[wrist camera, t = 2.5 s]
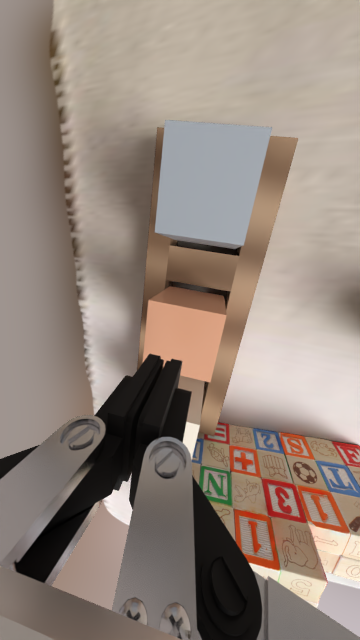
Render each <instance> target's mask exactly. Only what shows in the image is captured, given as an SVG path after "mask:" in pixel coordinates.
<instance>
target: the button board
mask: <svg viewBox="0 0 360 640" xmlns="http://www.w3.org/2000/svg"><path fill="white" fill-rule="evenodd" d="M163 138H164V128H159V127H157V139H156V151H155V163H154V175H153V187H152V199H151V211H150V223H149V235H148V247H147V259H146V271H145V283H144V295H143V307H142V319H141V331H140V343H139V355H138V367H137V370H138V369H139V368H140V366H141V365H142V363H143V353H144V342H145V332H146V321H147V310H148V300H149V299H151V298H152V297H154V296H156V295H157V294H159V293H160V292H162V291H163V290H165V289H166V288H168V287H170V286H172V281H175V282H180V283H186V284H192V285H197V286H203V287H208V288H214V289H220V290H225V291H228V293H227V297H226V301H225V307H226V314H227V316H226V320H225V324H224V329H223V333H222V337H221V341H220V345H219V349H218V353H217V357H216V362H215V366H214V370H213V374H212V378H211V382H206V387H205V391H204V395H203V402H202V411H201V421H200V427H199V433H203V434H206V435H210V436H213V437H214V434H215V431H216V427H217V424H218V420H219V417H220V413H221V410H222V406H223V403H224V399H225V396H226V392H227V389H228V385H229V382H230V378H231V374H232V371H233V367H234V364H235V360H236V357H237V353H238V350H239V346H240V343H241V339H242V336H243V332H244V329H245V325H246V322H247V318H248V314H249V311H250V307H251V304H252V300H253V297H254V293H255V290H256V286H257V283H258V279H259V276H260V272H261V269H262V265H263V262H264V258H265V254H266V251H267V247H268V244H269V240H270V237H271V233H272V230H273V226H274V223H275V219H276V216H277V212H278V209H279V205H280V202H281V198H282V194H283V191H284V187H285V184H286V180H287V177H288V173H289V170H290V166H291V163H292V159H293V156H294V152H295V149H296V145H297V142H298V138H291V137H278V136H270V139H269V143H268V147H267V151H266V156H265V160H264V164H263V168H262V172H261V176H260V180H259V184H258V189H257V193H256V197H255V201H254V205H253V209H252V213H251V217H250V222H249V226H248V230H247V234H246V238H245V242H244V246H241V247H238V250H237V254H236V256H235V255H228V254H222V253H215V252H209V251H202V250H196V249H190V248H183V247H177V240H174V239H172V238H169V237H166V236H163V235H161V234H158V233H155V224H156V213H157V203H158V192H159V181H160V170H161V160H162V149H163Z"/></svg>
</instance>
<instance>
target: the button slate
mask: <svg viewBox="0 0 360 640" xmlns="http://www.w3.org/2000/svg"><path fill="white" fill-rule="evenodd" d="M271 131H272V127H259V126H245V125H230V124H216V123H202V122H188V121H174V120H165V127H164V138H163V149H162V160H161V170H160V181H159V192H158V203H157V213H156V224H155V233H158V234H161V235H163V236H166V237H169V238H172V239H174V240H179V241H185V242H192V243H198V244H205V245H212V246H218V247H225V248H232V249H236V248H238V247H241V246H244V242H245V238H246V234H247V230H248V226H249V222H250V217H251V213H252V209H253V205H254V201H255V197H256V193H257V189H258V184H259V180H260V176H261V172H262V168H263V164H264V160H265V156H266V151H267V147H268V143H269V139H270V135H271Z"/></svg>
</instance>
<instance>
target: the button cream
mask: <svg viewBox="0 0 360 640" xmlns="http://www.w3.org/2000/svg"><path fill="white" fill-rule="evenodd" d="M204 383H205V381H201V380H197V379H193V378H189V377H185V376H181V375H180V379H179V384H178V388H180V389H184V390H188V391H192V394H191V399H190V405H189V411H188V416H187V422H186V427H185V433H184V438H183V444H184V445H185V446H186V447H187V448H188V450H189V452H190V454H191V460H192V456H193V452H194V448H195V444H196V440H197V436H198V432H199V427H200V421H201V411H202V402H203V392H204Z"/></svg>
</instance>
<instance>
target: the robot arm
mask: <svg viewBox="0 0 360 640" xmlns="http://www.w3.org/2000/svg"><path fill="white" fill-rule="evenodd" d="M163 365H164V360H163V359H161V356H159V355H154V354H149V355H148V356H147V358H146V359H145V360H144V362H143V363H142V365H141V366H140V368H139V369H138V370H137V372H136V373H135V375H134V376H133V377H131V376H125V377H124V378H123V380H122V381H121V382H120V384H119V385H118V386H117V387H116V389H115V390H114V391H113V393H112V394H111V395H110V396H109V398H108V399H107V400H106V402H105V403H104V404H103V405H102V407H101V408H100V409H99V411H98V412H97V413H96V414H95V416H93V415H84V416H79V417H76V418H73V419H71V420H69V421H68V422H67V423H65V424H64V425H62V426H61V427H60V428H59V429H58V430H57V431H55V432H54V433H53V434H52V435H51V436H50V437H49V438H48V439H46V440H45V441H44V442H43V443H42V444H41V445H38V446H35V447H32V448H30V449H27V450H24V451H21V452H19V453H16V454H13V455H10V456H7V457H5V458H2V459H0V640H360V637H358V636H357V635H355V634H354V633H352V632H351V631H349V630H348V629H346V628H345V627H343V626H342V625H341V624H339V623H337V622H336V621H335V620H333V619H331V618H330V617H329V616H327V615H326V614H324V613H323V612H321V611H320V610H318V609H317V608H315V607H314V606H312V605H311V604H309V603H308V602H306V601H305V600H304V599H302V598H301V597H299V596H298V595H296V594H295V593H293V592H292V591H290V590H289V589H287V588H286V587H284V586H283V585H281V584H280V583H278V582H277V581H275V580H274V579H272V578H271V577H269V576H268V577H267V579H265V578H263V577H262V576H260V575H259V574H258V573H256V572H255V571H253V570H252V568H251V566H250V564H249V562H248V560H247V559H246V557H245V556H244V554H243V553H242V551H241V550H240V548H239V546H238V545H237V543H236V542H235V540H234V539H233V537H232V536H231V534H230V532H229V531H228V529H227V528H226V526H225V525H224V523H223V522H222V520H221V519H220V517H219V515H218V514H217V512H216V511H215V509H214V508H213V506H212V505H211V503H210V502H209V500H208V498H207V497H206V495H205V494H204V492H203V491H202V489H201V488H200V486H199V485H198V483H197V481H196V480H195V478H194V477H193V475H192V460H191V454H190V452H189V450H188V448H187V447H186V446H185V445H184V444H183V438H184V433H185V427H186V422H187V416H188V411H189V405H190V399H191V394H192V391H188V390H184V389H180V388H178V384H179V379H180V373H181V367H182V361H181V360H176V359H171V361H166V363H165V365H164V367H163ZM131 473H132V477H131V487H130V497H129V501H130V504H131V507H132V509H133V511H132V516H131V520H130V525H129V530H128V535H127V540H126V545H125V549H124V554H123V559H122V564H121V569H120V574H119V578H118V583H117V588H116V593H115V598H114V603H113V607H112V611H111V610H109V609H106V608H104V607H101V606H98V605H96V604H94V603H91V602H89V601H86V600H84V599H82V598H79V597H77V596H74V595H72V594H69V593H67V592H64V591H62V590H59V589H57V588H54V587H52V584H53V582H54V581H55V579H56V577H57V575H58V574H59V572H60V571H61V569H62V567H63V566H64V564H65V563H66V561H67V559H68V557H69V556H70V554H71V553H72V551H73V549H74V548H75V546H76V544H77V543H78V541H79V540H80V538H81V536H82V535H83V533H84V531H85V530H86V528H87V527H88V525H89V523H90V522H91V520H92V518H93V517H94V515H95V513H96V512H97V510H98V508H99V506H100V504H101V502H102V499H104V498H105V497H107V496H109V495H111V493H112V491H113V489H114V490H118V491H119V489H120V487H121V484H122V482H123V481H126V482H127V481H128V480H129V478H130V475H131Z"/></svg>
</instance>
